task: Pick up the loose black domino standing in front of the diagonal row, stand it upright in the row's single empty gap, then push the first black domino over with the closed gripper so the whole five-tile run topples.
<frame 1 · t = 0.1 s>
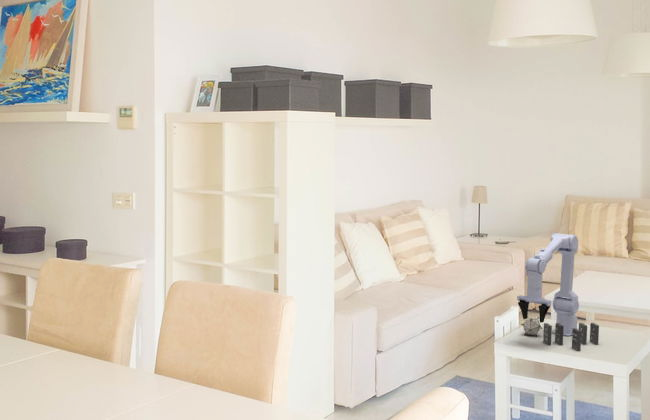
hand: (533, 320, 310), 10 cm above the table, tool pointing down, fingers open, 7 cm apart
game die: (531, 335, 326), on the table
domino 5: (547, 343, 313), on the table
domino 1: (593, 343, 314), on the table
domino 2: (582, 343, 314), on the table
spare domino: (576, 349, 304), on the table
domino 4: (558, 343, 313), on the table
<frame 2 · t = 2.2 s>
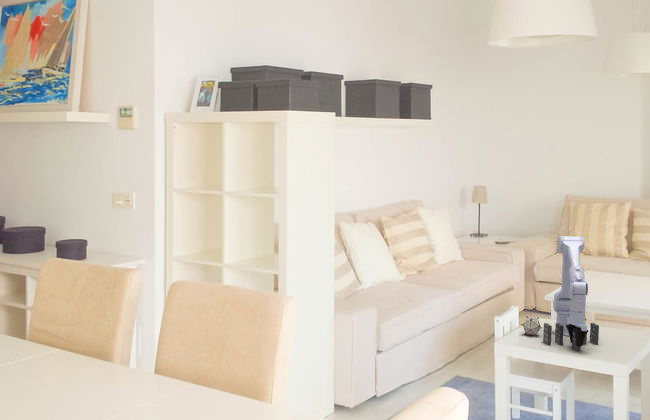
hand: (576, 344, 304), 2 cm above the table, tool pointing down, fingers closed on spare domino, 5 cm apart
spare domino: (576, 349, 304), on the table, touching gripper
everything else where it was.
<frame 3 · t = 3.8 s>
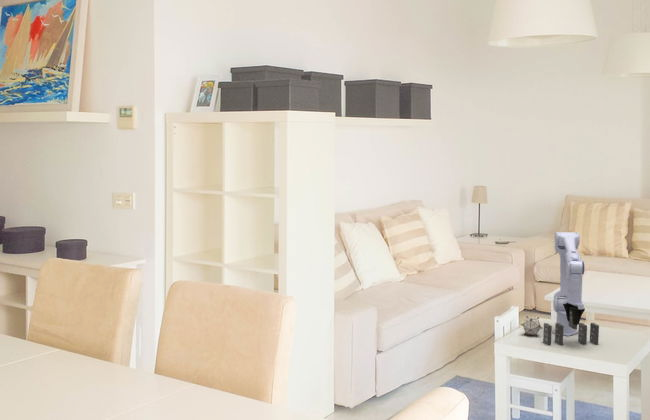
hand: (573, 322, 310), 9 cm above the table, tool pointing down, fingers closed on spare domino, 5 cm apart
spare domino: (572, 327, 310), point 7 cm above the table, touching gripper
everything else where it was.
when the fingers open (3 cm above the table, at t = 5.7 s): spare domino drops 1 cm, on the table.
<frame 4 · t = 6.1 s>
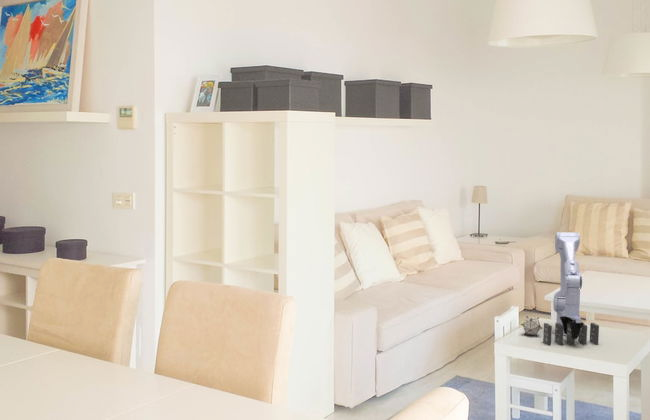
hand: (570, 336, 313), 3 cm above the table, tool pointing down, fingers open, 7 cm apart
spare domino: (570, 343, 313), on the table
everything else where it was.
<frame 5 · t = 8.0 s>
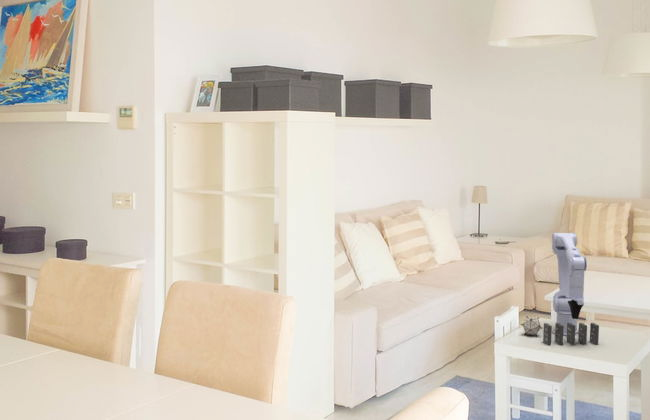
hand: (574, 318, 313), 10 cm above the table, tool pointing down, fingers closed
nothing on the table moved.
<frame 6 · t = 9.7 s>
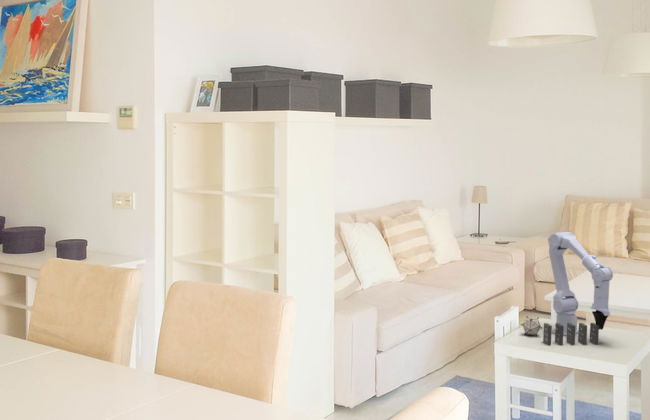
hand: (599, 329, 314), 6 cm above the table, tool pointing down, fingers closed
domino 1: (593, 343, 314), on the table, touching gripper
everything else where it was.
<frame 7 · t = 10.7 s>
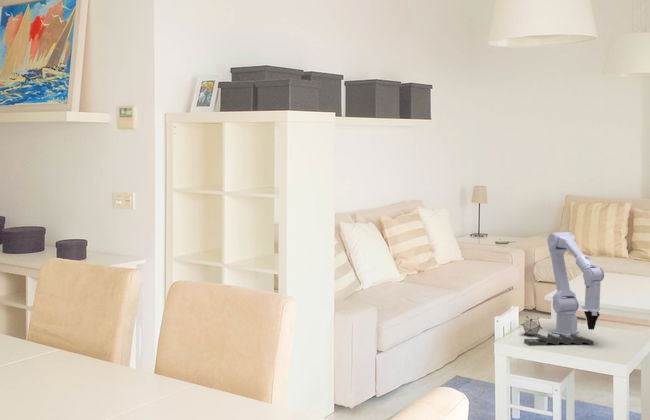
hand: (591, 329, 314), 6 cm above the table, tool pointing down, fingers closed
domino 5: (545, 341, 312), point 1 cm above the table, tilted 90°, touching domino 4
domino 1: (590, 341, 314), point 1 cm above the table, tilted 73°, touching domino 2
domino 2: (579, 341, 314), point 1 cm above the table, tilted 73°, touching domino 1, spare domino
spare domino: (567, 342, 313), point 1 cm above the table, tilted 73°, touching domino 2, domino 4
domino 4: (555, 341, 313), point 1 cm above the table, tilted 72°, touching domino 5, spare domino
everything else where it was.
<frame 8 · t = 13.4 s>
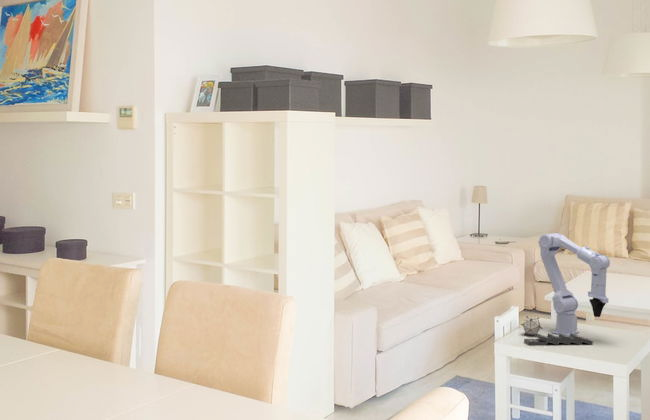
hand: (597, 316, 317), 10 cm above the table, tool pointing down, fingers closed
nothing on the table moved.
at the end: domino 5 tilted 90°; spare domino 1.3 cm from the target spot, point 0.6 cm above the table; domino 1 tilted 73° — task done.
